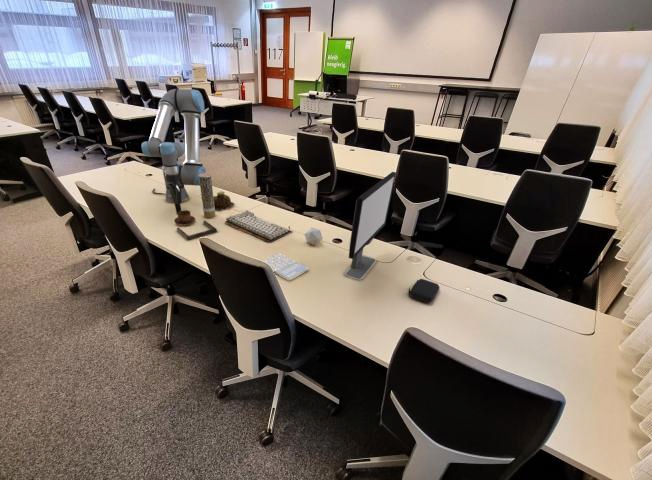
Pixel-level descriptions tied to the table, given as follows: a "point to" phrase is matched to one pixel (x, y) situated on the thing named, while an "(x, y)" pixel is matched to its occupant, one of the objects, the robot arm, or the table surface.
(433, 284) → the carrying case
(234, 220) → the mechanical keyboard
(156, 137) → the robot arm
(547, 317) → the table surface
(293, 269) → the calculator
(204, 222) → the bay
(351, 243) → the computer monitor
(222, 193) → the dark brown mound
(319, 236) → the die
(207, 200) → the bark textured cylinder
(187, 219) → the cup and saucer
